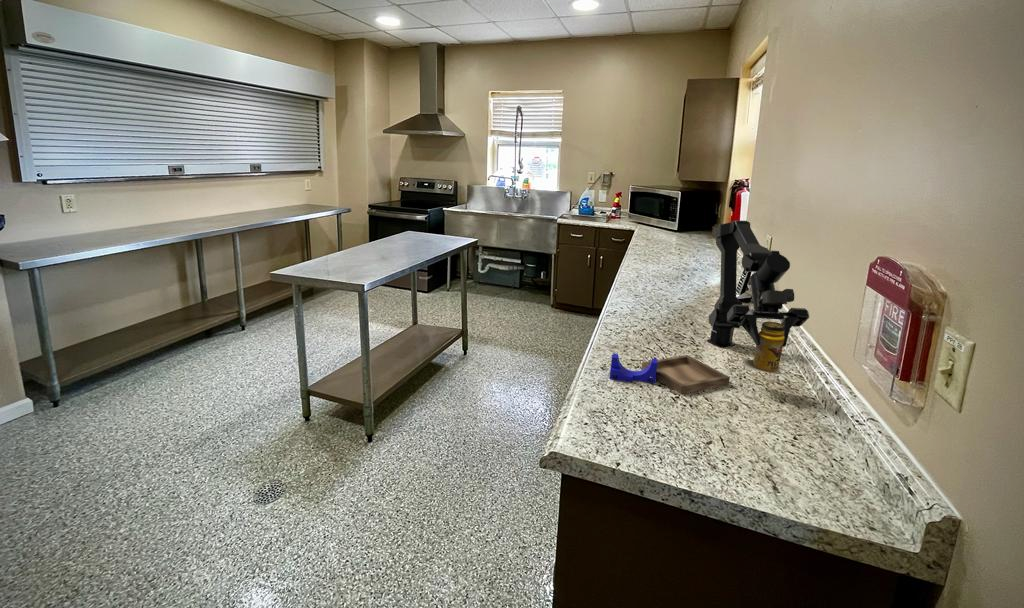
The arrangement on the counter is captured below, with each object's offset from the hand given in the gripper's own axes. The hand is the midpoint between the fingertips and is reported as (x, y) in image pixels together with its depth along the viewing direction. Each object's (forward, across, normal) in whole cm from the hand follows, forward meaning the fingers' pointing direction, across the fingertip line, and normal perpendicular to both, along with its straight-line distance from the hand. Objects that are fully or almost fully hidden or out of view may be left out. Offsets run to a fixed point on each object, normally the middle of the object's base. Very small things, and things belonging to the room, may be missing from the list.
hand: (771, 345), depth 128 cm
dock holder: (+5, -19, +13) cm, 24 cm away
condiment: (+4, -1, +6) cm, 7 cm away
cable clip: (+8, -33, +11) cm, 36 cm away
